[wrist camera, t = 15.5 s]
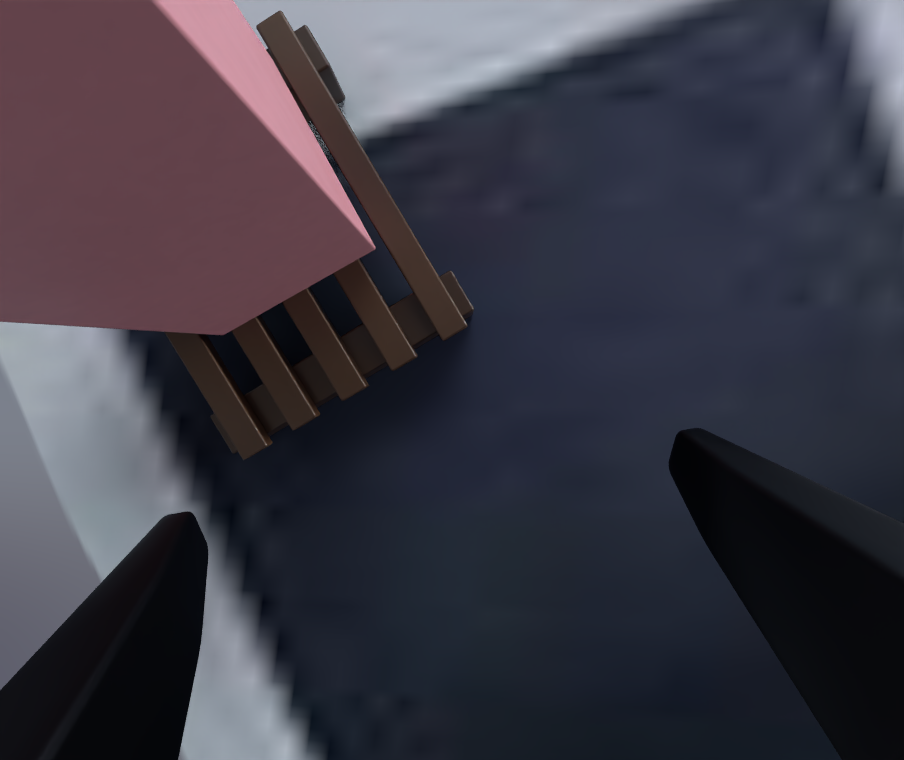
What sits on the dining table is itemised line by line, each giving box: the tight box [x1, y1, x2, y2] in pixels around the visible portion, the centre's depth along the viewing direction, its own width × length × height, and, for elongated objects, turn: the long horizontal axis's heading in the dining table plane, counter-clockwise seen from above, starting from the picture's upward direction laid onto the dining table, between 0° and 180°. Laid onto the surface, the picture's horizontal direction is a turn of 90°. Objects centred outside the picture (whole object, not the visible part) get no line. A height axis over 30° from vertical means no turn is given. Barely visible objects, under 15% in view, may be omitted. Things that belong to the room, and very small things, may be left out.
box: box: [0, 0, 375, 335], centre depth 11 cm, size 7×6×13 cm
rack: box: [165, 11, 474, 460], centre depth 19 cm, size 12×10×3 cm
